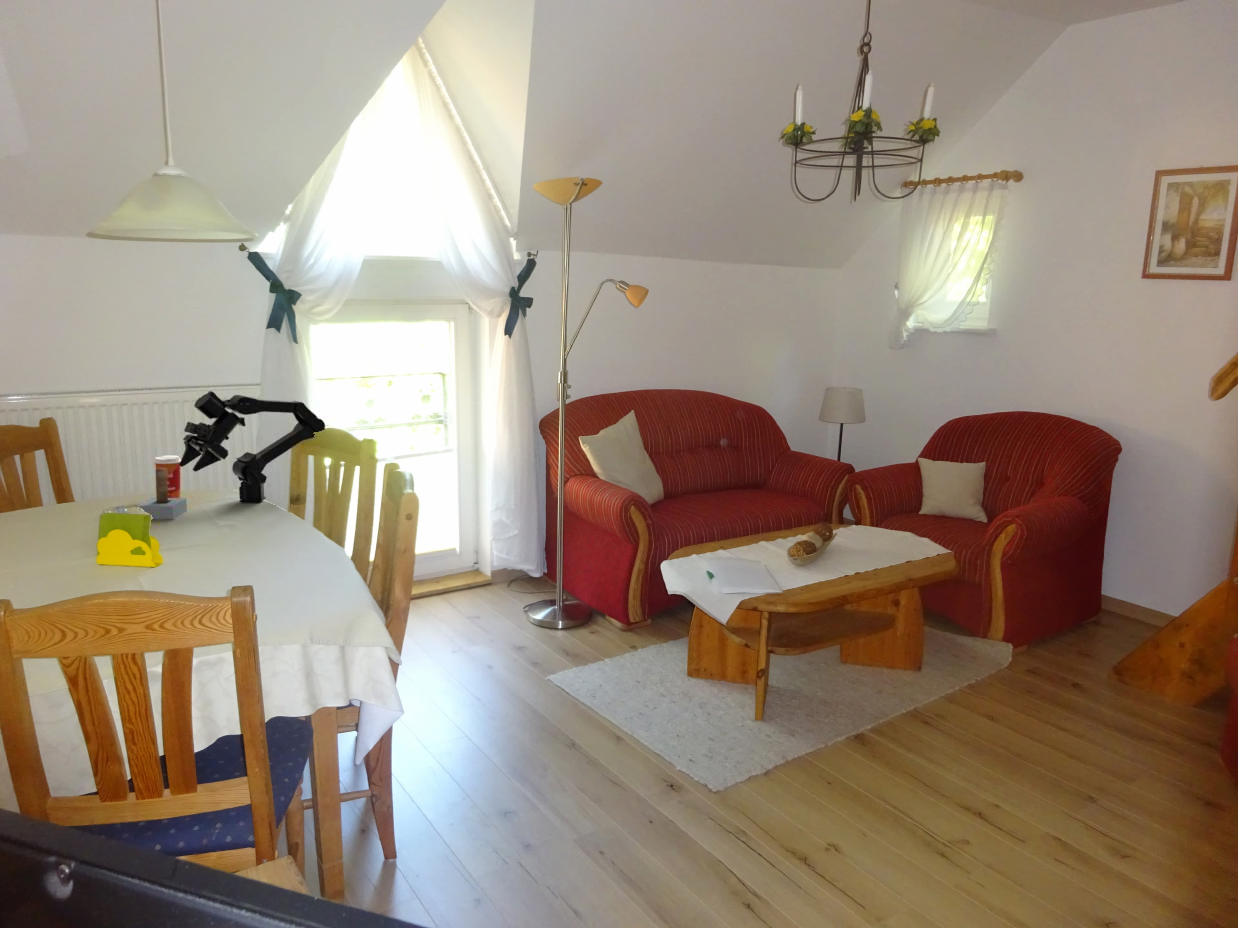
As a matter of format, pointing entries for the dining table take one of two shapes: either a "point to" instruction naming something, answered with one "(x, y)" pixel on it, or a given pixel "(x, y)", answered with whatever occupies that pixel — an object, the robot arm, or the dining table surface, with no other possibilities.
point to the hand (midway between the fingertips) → (187, 468)
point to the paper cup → (171, 473)
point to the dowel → (161, 486)
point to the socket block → (165, 508)
